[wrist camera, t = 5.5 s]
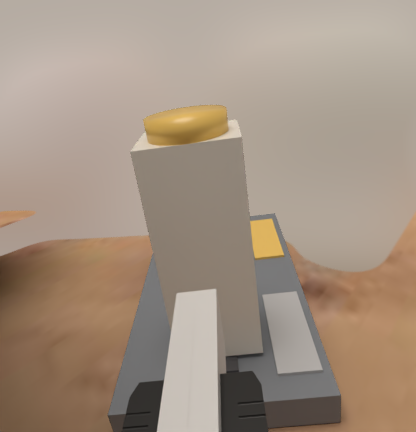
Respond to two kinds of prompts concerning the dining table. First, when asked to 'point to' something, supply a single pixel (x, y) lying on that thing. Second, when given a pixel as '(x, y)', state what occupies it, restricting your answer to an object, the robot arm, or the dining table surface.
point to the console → (258, 363)
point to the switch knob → (200, 215)
